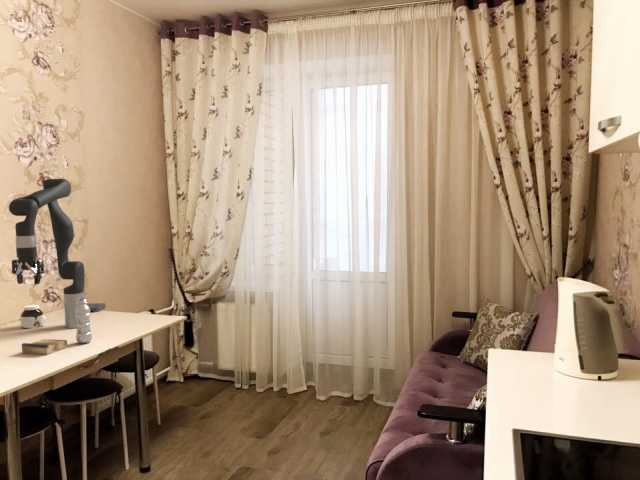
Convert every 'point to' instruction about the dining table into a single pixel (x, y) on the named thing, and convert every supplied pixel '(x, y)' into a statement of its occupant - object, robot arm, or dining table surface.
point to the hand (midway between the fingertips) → (28, 283)
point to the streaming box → (96, 306)
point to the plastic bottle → (83, 321)
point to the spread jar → (32, 317)
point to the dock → (43, 346)
